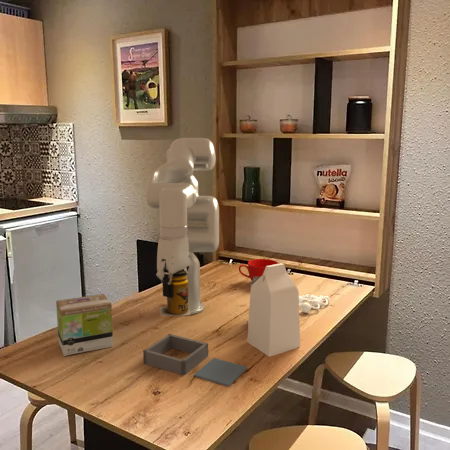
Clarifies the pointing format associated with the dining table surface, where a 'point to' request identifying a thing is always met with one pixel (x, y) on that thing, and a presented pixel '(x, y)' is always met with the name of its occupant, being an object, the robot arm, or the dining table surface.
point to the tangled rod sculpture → (312, 302)
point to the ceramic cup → (257, 267)
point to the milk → (274, 312)
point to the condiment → (177, 296)
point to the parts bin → (173, 364)
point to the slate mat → (220, 371)
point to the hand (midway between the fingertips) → (175, 292)
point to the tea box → (84, 324)
